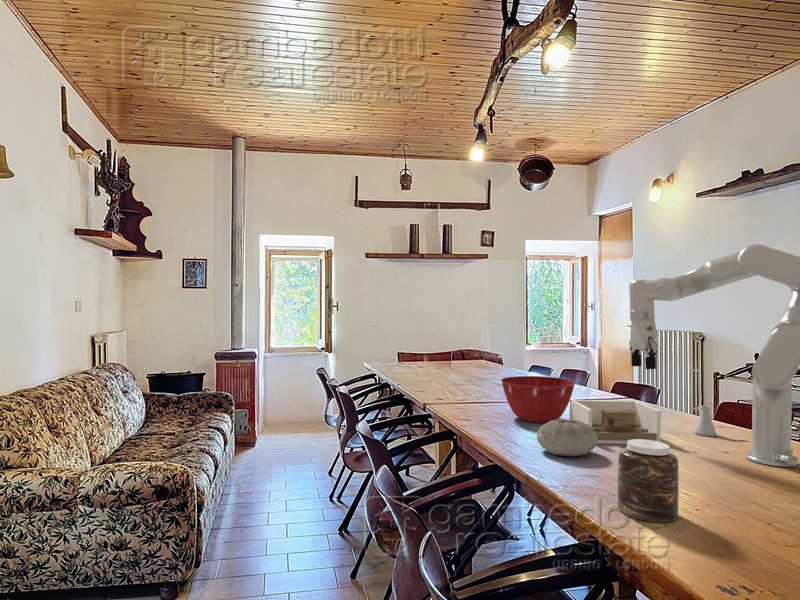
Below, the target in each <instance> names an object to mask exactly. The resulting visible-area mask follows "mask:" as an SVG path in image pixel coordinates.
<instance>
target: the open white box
mask: <svg viewBox="0 0 800 600" xmlns="http://www.w3.org/2000/svg"><path fill="white" fill-rule="evenodd" d="M602 410H631V411H634V412H636V423H635V432H601V424H602ZM661 414H662V410H660V409H658V408H654V407H652V406H650V405H647V404H644V403H642V402H639V401H638V400H598V399H597V400H594V399H593V400H592V399H590V400H589V399H588V400H585V399H570V401H569V420H578V421H581V422H584V423H585V424H587V425H590V427H591V428H592V429H593V430H594V431H595V432H596V435H597V438H598V444H613V445H615V444H620V445H621V444H622V445H623V444H625V445H627V441H628V440H632V439H644V440H653V441H658V442H661V425H662V424H661V420H662V419H661V418H662V415H661Z"/></svg>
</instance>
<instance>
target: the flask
mask: <svg viewBox="0 0 800 600" xmlns="http://www.w3.org/2000/svg"><path fill="white" fill-rule="evenodd" d="M700 408H701V411H700V417H699V419H698V422H697V424H696V426H695V428H694V430H693V432H694V434H696V435H698V436H699V435H700V436H705V437H706V436H707V437H717V436H718V435H717V434H718V433H717V432H716V431H717V430H716V429H715V426H714V423H713V421H712V417H711V408H712V407H711V406H710V405H700Z"/></svg>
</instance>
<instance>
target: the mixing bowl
mask: <svg viewBox="0 0 800 600" xmlns="http://www.w3.org/2000/svg"><path fill="white" fill-rule="evenodd" d="M500 382H501V384H502V389H503V391H504V395H505V397H506V401H507V403H508V405H509V407H510V409H511V411H512V413H513V415H514V416H516V417H517V418H519V419H520V420H521V421H524V422H528V423H535V424H546V423H548V422H550V421H554V420H558V419H561V417H562V416H563V415H564V413H565V411H566V409H567V407H568V405H569V404H570V400H571V398H572V395H573V391H574V387H575V386H576V381H573V380H570V379H566V378H561V377H554V376H553V377H551V376H540V375H536V376H535V375H523V376H522V375H521V376H517V375H515V376H509V377H507V376H506V377H503V378H501V380H500Z"/></svg>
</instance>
